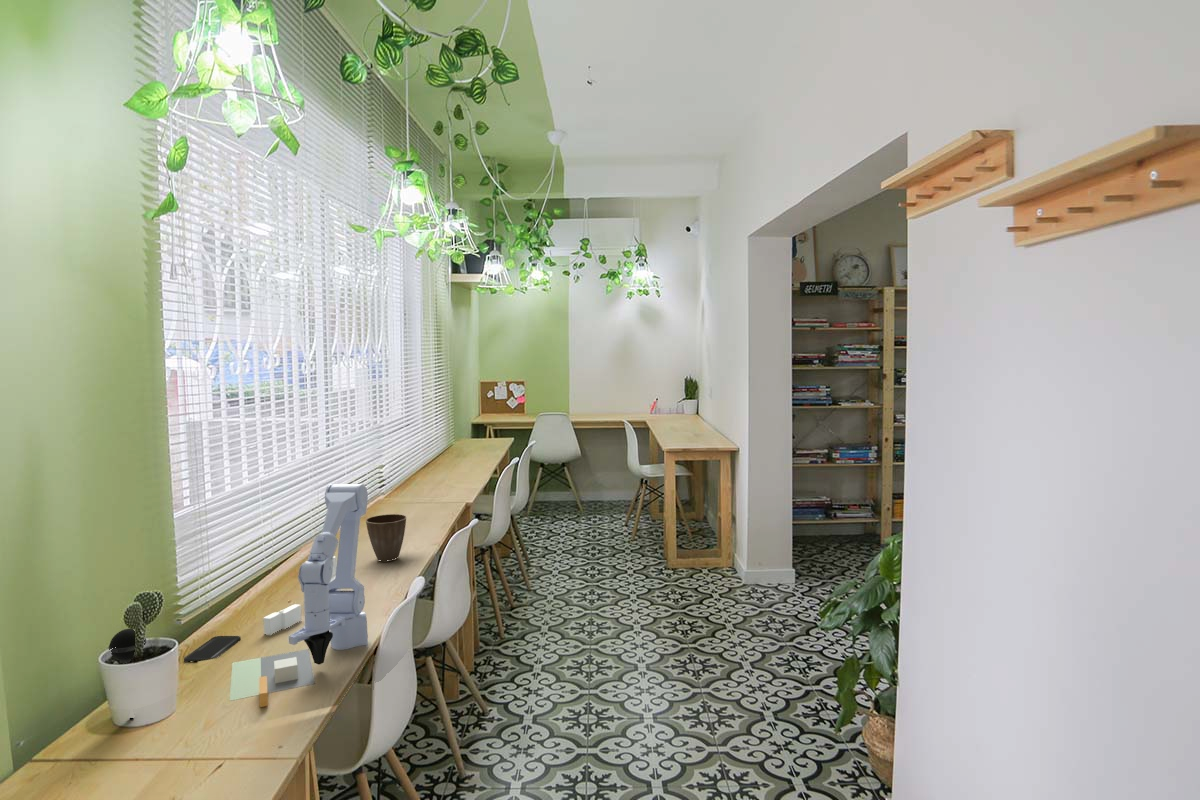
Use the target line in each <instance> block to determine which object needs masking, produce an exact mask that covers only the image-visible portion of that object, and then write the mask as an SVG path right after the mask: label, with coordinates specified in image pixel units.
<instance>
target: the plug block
mask: <svg viewBox="0 0 1200 800" xmlns="http://www.w3.org/2000/svg"><path fill="white" fill-rule="evenodd" d="M274 671H275V683H280V682H285V681H290V680H295V679H298V667H297V658H296V657H293V658H287V659H282V660H277V661H274Z"/></svg>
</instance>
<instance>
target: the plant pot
mask: <svg viewBox="0 0 1200 800" xmlns="http://www.w3.org/2000/svg"><path fill="white" fill-rule="evenodd" d="M365 523H366V529H367V534H368V537H369V541H370V544H371V548H372V550H373V552H374V554H375V555H374V556H376V559H377V561H378V560H381V561H387V560H392V559H395V558H397V557H398V558H399V556H400V552H401V550H402V546H403V542H404V537H405V533H406V532H405V531H406V523H407V516H406V515H404V514H397V513H396V514H394V513H393V514H391V513H389V514H388V513H387V514H381V515H375V516H370V517H369V518H366V520H365Z"/></svg>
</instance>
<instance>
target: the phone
mask: <svg viewBox="0 0 1200 800" xmlns="http://www.w3.org/2000/svg"><path fill="white" fill-rule="evenodd" d="M241 639H242V638H241V636H240V635H216V636H213V637H211V638H210V639H209V640H207V641H206V642H204V643H203V644H202V645H200V646H198V647H197V648H196V649H194V650H193V651H191V652H190V653H188V654H187V655H186V656H185V657H183V662H184V663H189V662H188V661H198V662H204V661H209V660H215V659H218V658H219V657H220V656H222V655H223V654H224V653H226V652H225V651H228V650H230V648H232V647H233V646H235V645H236V644H237V643H239V642H240V641H241ZM238 641H239V642H238ZM221 654H222V655H221ZM218 656H219V657H218ZM217 657H218V658H217ZM186 661H187V662H186Z"/></svg>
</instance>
